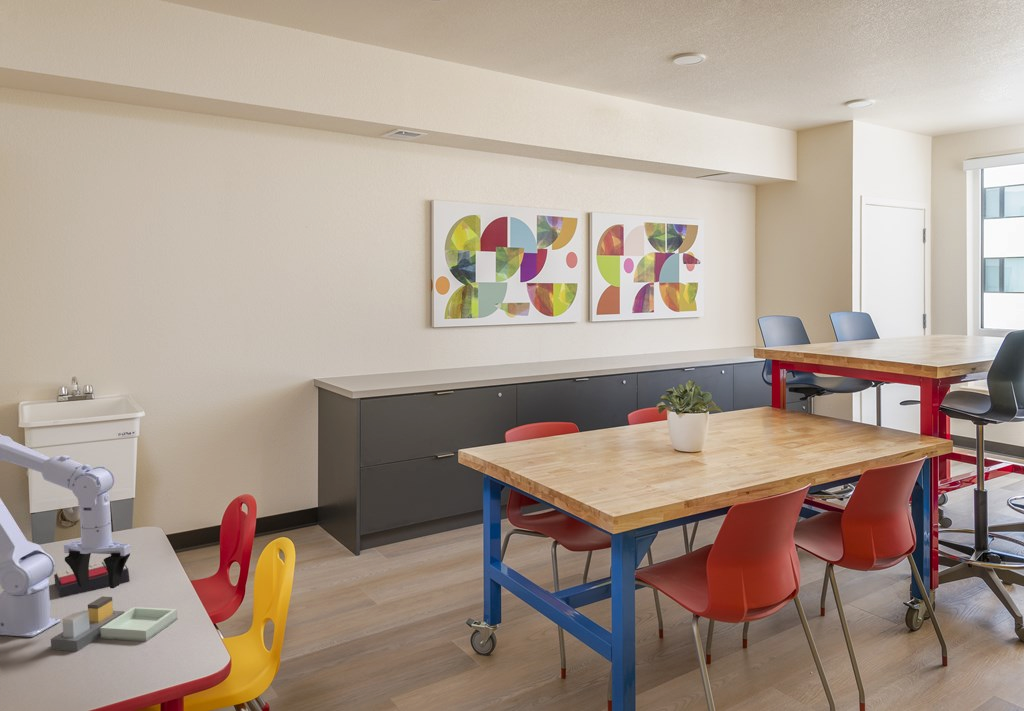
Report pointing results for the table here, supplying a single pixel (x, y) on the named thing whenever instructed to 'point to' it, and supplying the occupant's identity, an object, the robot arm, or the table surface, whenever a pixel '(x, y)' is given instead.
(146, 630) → the parts tray
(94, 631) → the block
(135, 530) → the table surface
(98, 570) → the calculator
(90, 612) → the yellow rectangular block
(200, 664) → the table surface
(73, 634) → the block
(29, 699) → the table surface
